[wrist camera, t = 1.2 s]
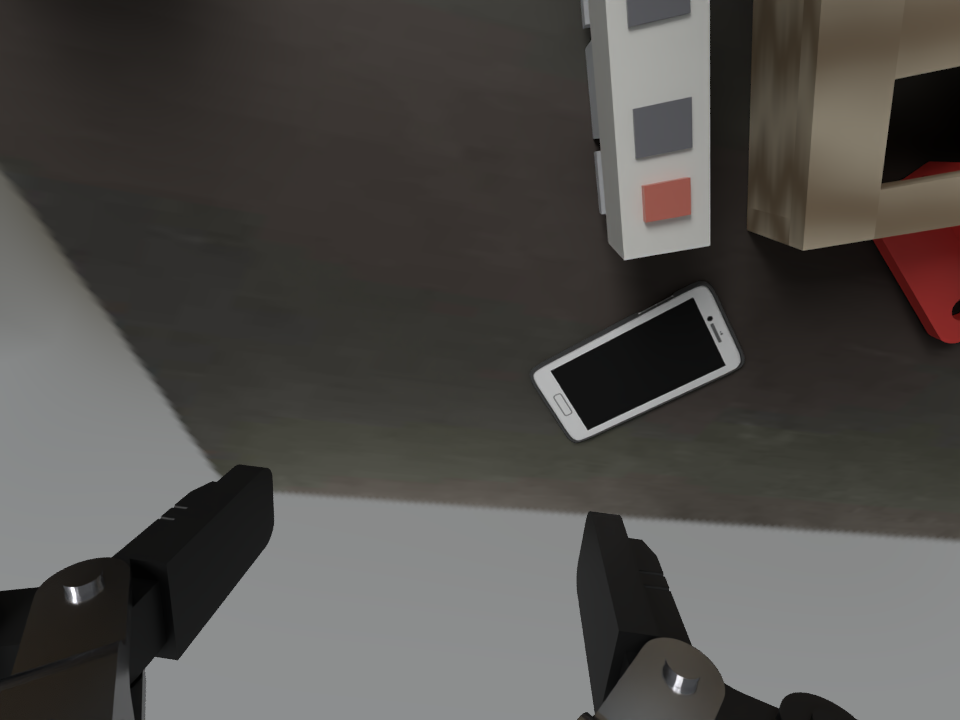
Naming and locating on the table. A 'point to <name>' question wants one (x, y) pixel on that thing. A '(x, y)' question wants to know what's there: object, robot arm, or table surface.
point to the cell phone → (639, 363)
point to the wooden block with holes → (841, 118)
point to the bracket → (928, 267)
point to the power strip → (652, 122)
